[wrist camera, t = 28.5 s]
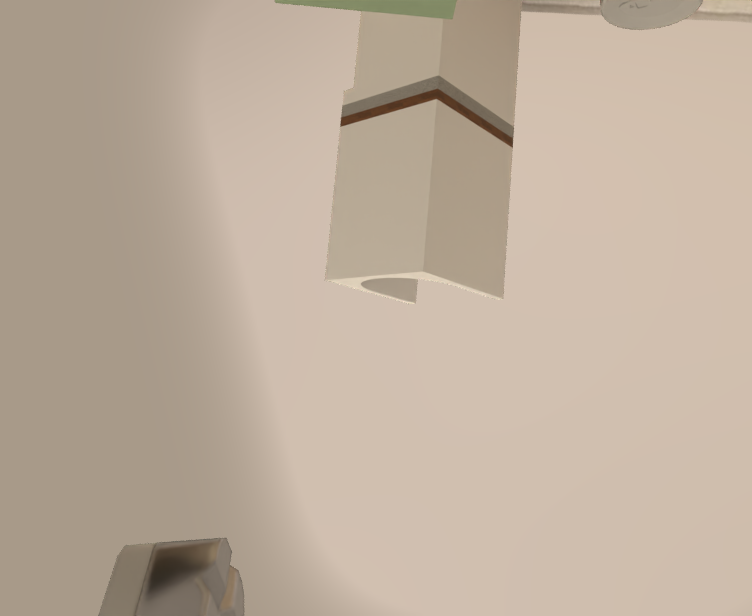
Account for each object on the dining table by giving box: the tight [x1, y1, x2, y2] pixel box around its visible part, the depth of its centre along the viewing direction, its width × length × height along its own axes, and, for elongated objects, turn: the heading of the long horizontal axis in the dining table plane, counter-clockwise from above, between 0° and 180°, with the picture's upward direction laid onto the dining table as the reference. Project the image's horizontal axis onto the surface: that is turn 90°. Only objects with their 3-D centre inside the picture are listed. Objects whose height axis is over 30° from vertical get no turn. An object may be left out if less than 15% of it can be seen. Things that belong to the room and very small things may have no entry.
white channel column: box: [325, 0, 522, 304], centre depth 64 cm, size 11×11×35 cm
